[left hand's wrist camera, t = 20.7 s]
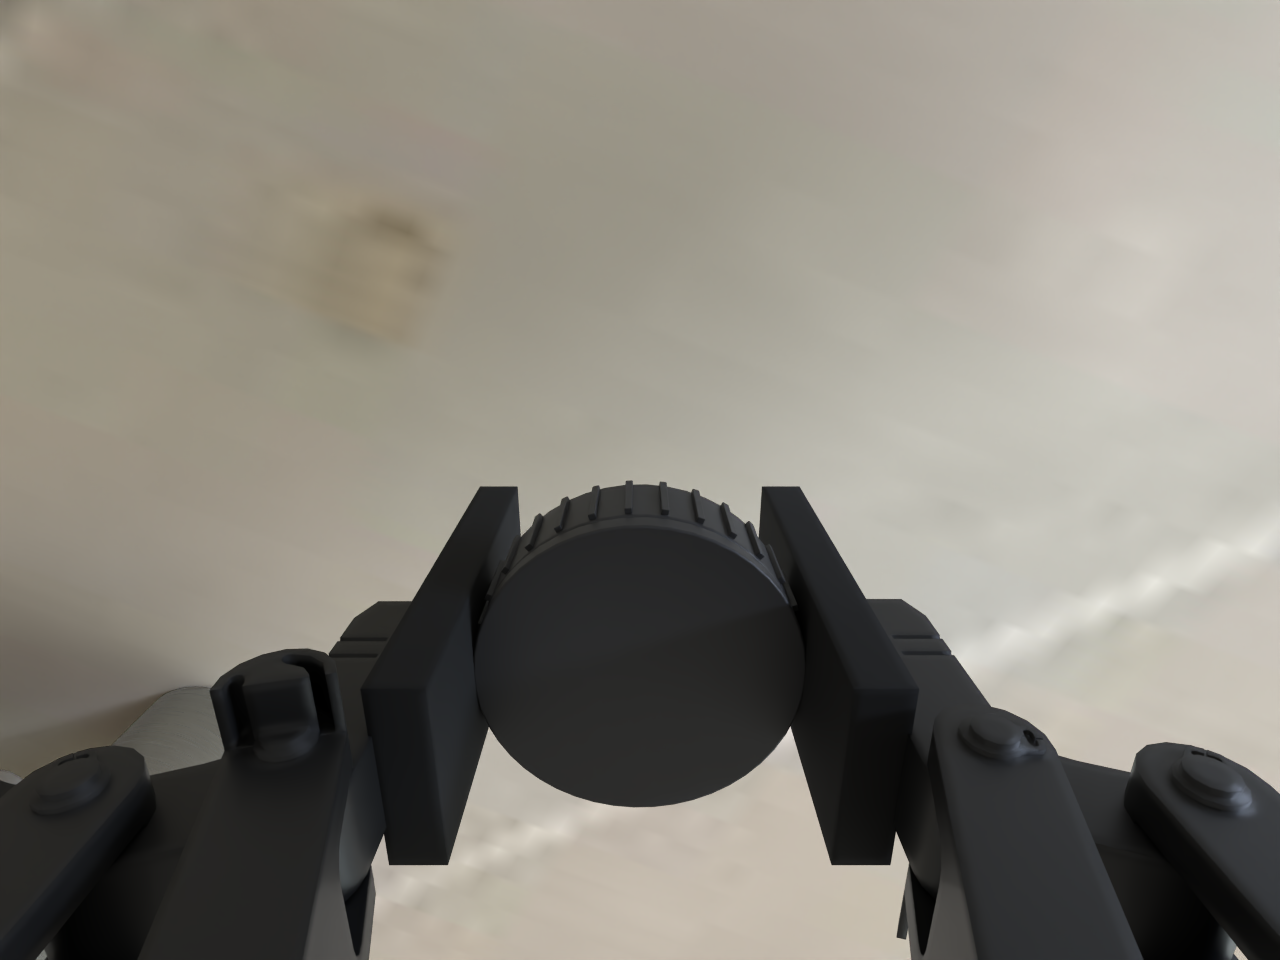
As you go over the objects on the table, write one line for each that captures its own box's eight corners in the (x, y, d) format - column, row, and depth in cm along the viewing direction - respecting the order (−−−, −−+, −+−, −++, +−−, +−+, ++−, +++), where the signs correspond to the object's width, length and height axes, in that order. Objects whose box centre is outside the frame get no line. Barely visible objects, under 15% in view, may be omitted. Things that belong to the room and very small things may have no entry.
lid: (709, 423, 11) (721, 458, 9) (834, 671, 12) (864, 738, 11) (431, 561, 12) (399, 615, 10) (582, 778, 13) (574, 854, 12)
